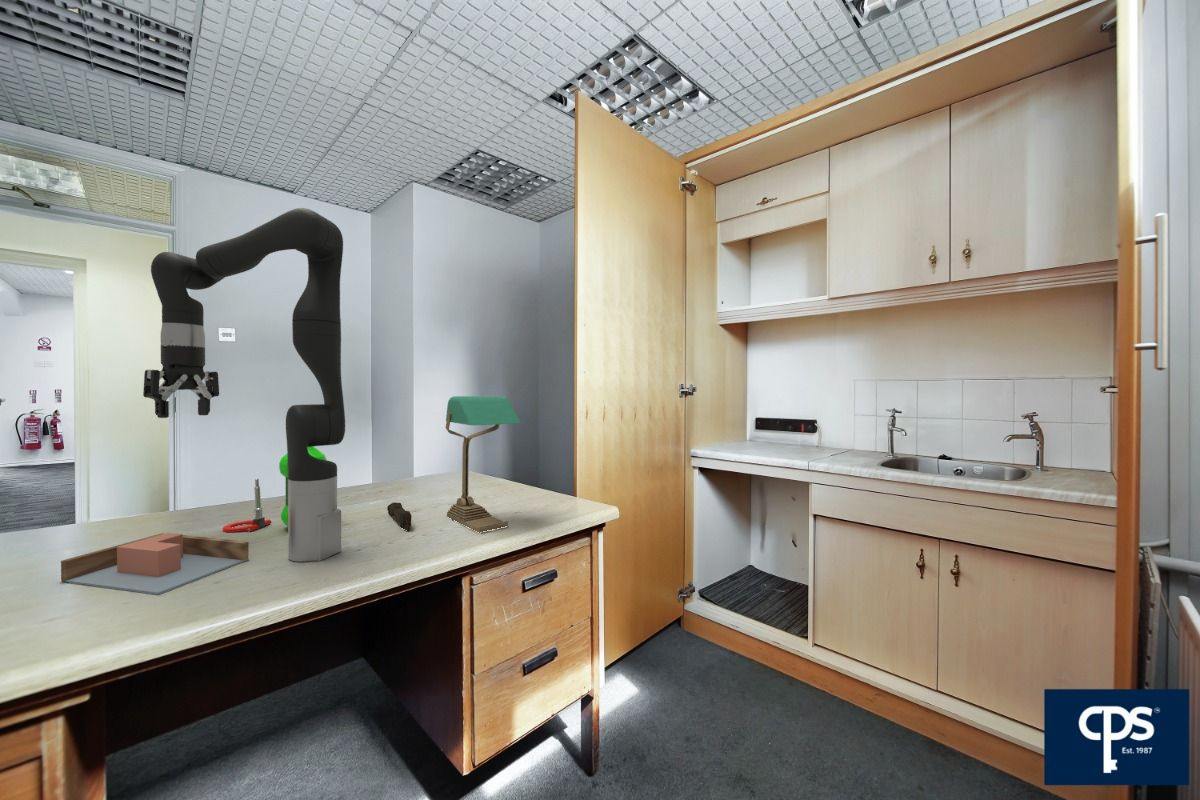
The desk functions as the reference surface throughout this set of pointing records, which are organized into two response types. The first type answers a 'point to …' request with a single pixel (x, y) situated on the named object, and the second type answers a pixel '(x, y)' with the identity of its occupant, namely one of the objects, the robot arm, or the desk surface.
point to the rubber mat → (189, 572)
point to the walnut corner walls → (190, 543)
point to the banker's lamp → (468, 413)
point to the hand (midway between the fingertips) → (183, 416)
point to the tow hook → (256, 522)
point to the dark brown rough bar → (400, 515)
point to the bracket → (151, 555)
